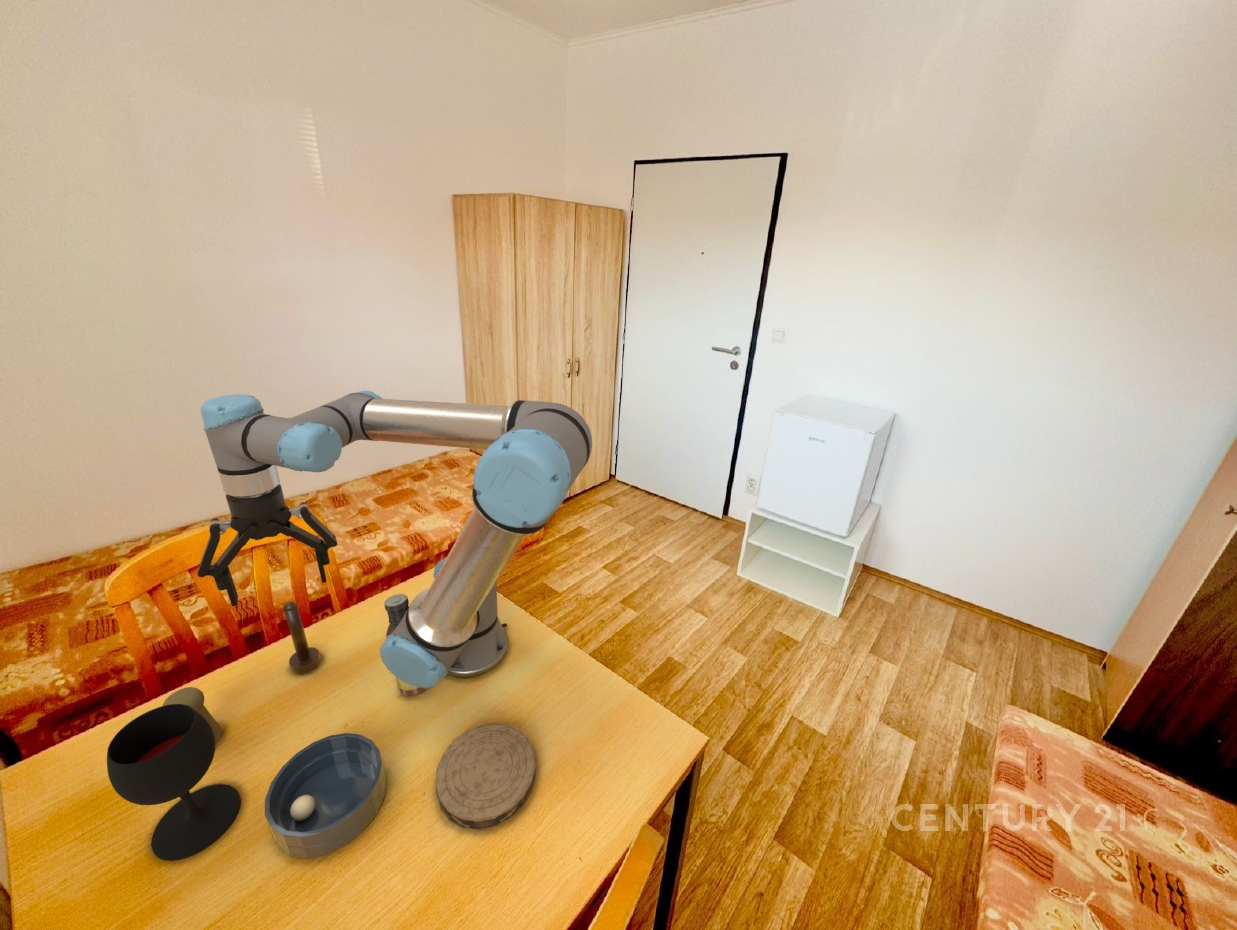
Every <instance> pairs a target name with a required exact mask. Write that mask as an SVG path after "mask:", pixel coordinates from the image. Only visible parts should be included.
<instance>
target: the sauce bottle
mask: <svg viewBox="0 0 1237 930" xmlns="http://www.w3.org/2000/svg"><path fill="white" fill-rule="evenodd" d="M383 605H384V609H385V611H386V612H387V616H388V623H389V624H388V626H387V629H386V636H385V638H386V637H387V636H388V635H390V634H391V633H392V632H393V631H394V630H395V628H396V627H397V626H398V625H399V623H400V622H401V620H402V619H403V617H404V615H405V613H406V611H407V609H408V608H409V606H410V601H409V597H408V595H406V594H405V593H397V594H394V595H391V596H389V597H388V598H386V599H385V601H384V602H383ZM394 678H395V680H396V686H397V687H398V688H399V692H400V694H401V695H403V696H404V697H416V696H418V695H420V694H422V693H423V692H425V691H426V690H428V688H421V687H415V686H412V685H409V684H407V683H405V682H403V681H402V680H400V679H398V678H397V677H396V676H394Z"/></svg>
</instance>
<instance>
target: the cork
mask: <svg viewBox="0 0 1237 930" xmlns="http://www.w3.org/2000/svg"><path fill="white" fill-rule="evenodd" d="M170 704H184V705H188V706H190V707H192V708H193V709H194V710H196V711H197V712H198V713H200V714H201V715H202V716H203V717H204V718H205V719H206V720H207V722H208V723H209V725H210V726H211V728H212V730H213V733H214V737H215V746H216V745H217V744H218V743H219V742H220V741H221V738H222V737H223V730H222V728H221V726H220V725H219V723H218V722H217V720H216V719H215V718H214V717H213V715H212V714H211V712H210V711H209V710H208V708H207V707H206V706H205V705H204V704H205V695H204V692H203V691H202V690H201V689H199V688H198V687H193V686H188V687H184V688H181V689H178V690H176V691H174V692H173V693H171V694H169V696H167V697H166V698H165V700H164V701H163V703H162V706H165V705H170Z"/></svg>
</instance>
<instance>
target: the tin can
mask: <svg viewBox="0 0 1237 930" xmlns="http://www.w3.org/2000/svg"><path fill="white" fill-rule="evenodd" d="M535 757H536V756H535V749H534V748H533V746H532V744H531V741H530V739H529V738H528V737H527V735H525V734H524V733H523V732H522V731H521V730H520V729H518V728H517V727H515V726H512V725H510V724H508V723H499V722H489V723H483V724H478V725H476V726H473V727H471V728H469V729H467V730H465V731H464V732H462V733H461V734H460V735H459V736H457V737H456V738H455V739H453V740H452V742H451V743H450V744H449V745H448V746H447V748H446V749H445V750H444V752H442V755H441V757H440V760H439V762H438V764H437V767H436V772H435V773H436V774H435V784H434V785H435V791H436V798H437V800H438V805H439V809H440V810H441V812H442V814H444V816H445V817H446V819H447V820H448V821H449V822H450V823H452V824H454V825H455V826H457V827H459V828H461V829H463V830H470V831H478V832H480V831H484V830H489V829H494V828H497V827H499V826H500V825H502V824H504V823H506V822H508V821H510V820H511V819H513V818H514V817H515V816H516V815H517V813H518V812H519V811H521V810H522V809H523V808H524V807H525V805H526V803H527V801H528V799H529V797H530V796H531V794H532V792H533V788H534V784H535V781H536V758H535Z"/></svg>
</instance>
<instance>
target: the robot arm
mask: <svg viewBox="0 0 1237 930" xmlns="http://www.w3.org/2000/svg"><path fill="white" fill-rule="evenodd" d="M200 414H201V419H202V424H203V431H204V433H205V435H206V438H207V441H208V444H209V448H210V450H211V454H212V456H213V459H214V463H215V466H216V467H217V473H218V476H219V479H220V484H221V486H222V490H223V492H224V494H225V499H226V502H227V505H228V509H229V512H230V515H231V516H230V517H231V518H230V519H223V520H220V518H217V517H214V518H211V520H210V521H209V522H210V523H209V537H208V539H207V543H206V545H205V548H204V550H203V553H202V556H201V559H200V561H199V564H198V568H197V573H196V574H197V577H199V578H205V577H207V576H208V577H209V576H210V577H212V578H213V579H214V582H215V584H216V587H217V590H218V591H220V592H222V591H226V592H227V595H228V598H229V602H230V604H231V607H236V606H239V605H238V604H239V595H238V592H237V588H236V586H235V582H234V578H233V576H232V573H231V569H230V567H229V566H230V564H231V563H232V562H233V560H234V559H235V558H236V556H237V555H238V554H239V552H240V551H241V550H242V549H243V547H245V546H246V545H247V543H248V542H249V541H250V540H254V541H259V540H260V541H261V540H263V539H265V538H274V537H278V535H280V534H282V535H284V536H285V537H287V538H288V537H290V538H292V539H294V540H296V541H297V542H300V543H302V544H304V545H306V546H308V547H310V548H312V549H314V552H315V559H316V562H317V567H318V571H319V576H320V580H321V583H322V584H324V583H327V582H328V581H327V575H326V571H325V567H324V566H327V565H330V562H331V561H330V555H329V549H330V548H335V547H337V546H338V540H337V536H336V534H335V533H333V532H332V531H331V530H330V529H329V528H328V527H327V526H326V525H325V524H324V523H323V522H322V521H321V520H320V519H319V518H318V517H316V515H315V514H314V513H312V511H311V510H310V506H309V504H308V503H307V502H306V501H302V502H300V503H299V505H298V506H293V507H290V508H289V506H287V504H286V500H285V496H284V493H283V488H282V485H281V484H280V481H281V480H280V476H279V472H278V467H280V468H284V469H289V470H293V471H295V472H310V473H323V472H326V471H328V470H330V469H332V468H333V467H334V466H335V463H336V461H338V460H339V459H340V457H341V455H342V450H343V448H344V447H347V446H348V445H350V444H352V443H355V442H356V441H371V442H387V443H399V444H400V443H402V444H411V445H422V446H423V445H425V446H437V447H447V448H459V449H469V450H470V449H471V450H473V449H474V450H483V451H484V452H483V453H482V455H481V456H480V458H479V460H478V461H477V464H476V466H475V469H474V474H473V482H472V483H473V487H472V489H471V501H472V504H473V507H474V508H473V509H472V510H471V513H470V515H469V517H468V518H467V519H466V522H465V524H464V525H463V527H462V529H461V531H460V533H459V534H458V536H457V538H456V540H455V541H454V544H453V545H452V547H451V549H450V551H449V552H448V554H447V556H446V557H445V558H443V559H441V560H439V561H438V562H437V563H436V565H435V566H434V569H433V574H432V576H433V581H432V583H431V584H430V587H429V588H426V589H423V590H422V591H420V592H419V593H417V594H416V595H415V596H414V598H413V599H412V600H411V602H410V603H409V605H408V606H409V608H408V609H407V611H406V613H405V615H404V617H403V619H402V620H401V622H400V623H399V625H398V626H397V627H396V628H395V630H394V631H393V632H392V633H391V634H390V635H388V636H387V637H386V636H385V640H384V641H383V643H382V644H381V645H380V648H379V649H380V650H379V655H380V659H381V662H382V664H383V665H384V666H385V667H386V669H387V671H389V672H390V674H392V675H393V676H394V677H395V676H396V677H397V678H398V679H400V680H402V681H403V682H405V683H407V684H409V685H412V686H415V687H421V688H427V689H431V688H434V687H436V686H437V685H439V684H440V683H441V682H442V680H443V679H444V678H445V677H451V678H454V679H461V680H462V679H463V680H464V679H465V680H467V679H475V678H478V677H481V676H483V675H486V674H488V673H490V672H491V671H493V670H494V669H495V668H497V667H498V666H499V665H500V664H501V663H502V661H503V660H504V659H505V657H506V654H507V652H508V636H507V632H506V630H505V629H504V628H505V627H507V626H508V624H507V623H506V622H505V623H501V621H500V618H499V616H498V586H497V585H498V583H497V582H498V580H499V578H500V576H501V575H502V573H503V572H504V570H506V567H507V566H508V564H509V563H510V561H511V560H512V558H513V556H514V555H515V554H516V552H517V550H518V549H519V547H520V545H521V544H522V542H523V541H524V540H525V538H526V537H527V536H531V535H532V536H533V535H535V534H537V533H540V531H542V530H543V529H544V527H545V526H546V525H547V523H548V522H549V520H550V519H551V517H552V516H553V515H554V513H555V512H557V510H558V509H559V508H560V507H561V505H562V504H563V502H564V500H565V499H566V496H567V494H568V492H569V490H570V489H571V487H572V486H573V485H574V483H575V482H576V480H577V478H578V477H579V475H580V473H582V471H583V470H584V468H585V467H586V465H587V464H588V462H589V459H590V457H591V455H592V451H593V435H592V432H591V429H590V426H589V425H588V423H587V421H586V420H585V419H584V417H583V416H582V415H581V414H580V413H579V412H578V411H576V410H575V409H574V408H572V407H570V406H568V405H565V404H562V403H558V402H551V401H539V400H522V399H520V400H519V399H516V400H515V401H513V402H512V403H511V404H510V405H500V404H499V405H498V404H483V403H482V404H480V403H464V402H448V401H447V402H446V401H445V402H444V401H431V400H430V401H427V400H411V399H395V398H394V399H393V398H383V397H381V396H380V395H379V394H376V393H375V392H373V391H371V390H359V391H355V392H351V393H348V394H345V395H343V396H342V397H339V398H337V399H334V400H332V401H330V402H328V403H325V404H322V405H320V406H317V407H314V408H312V409H310V410H307V411H305V412H302V413H300V414H297V415H295V416H292V417H282V416H276V415H270V414H266V413H264V408H263V406H262V403H261V401H260V400H259V398H257V397H255V396H254V395H250V394H243V393H242V394H239V393H236V394H234V393H233V394H224V395H219V396H215V397H212V398H209V399H208V400H205V401H204V402H203V403H202V404H201V406H200ZM292 516H294V517H297V518H298V519H299V520H302V519H303V521H304V523H305V524H306V525H307V526H308V527H310V528H311V529H312V530H313V531H314V532H315V533H316V534H317V535H318V536H317V535H315V534H313V533H311V532H309V531H307V530H305V529H304V528H302V527H300V526H298V525H296V524H295V523H294V522H293V521H291V518H292ZM230 528H231V529H232V530H234V531H235V532H236V535H235V537H234V538H233V539H232V541H231V542H230V543H229V545H228V546H227V547H226V549H225V550H224V551H223V552H222V553H221V554H220V556H219V558H218V559H217V561H216V562H213V560H214V556H215V554H216V551H217V549H218V546H219V543H220V540H221V536H222V535H224V534H226V532H227V530H228V529H230ZM212 562H213V564H212ZM396 677H395V678H396Z"/></svg>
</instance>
